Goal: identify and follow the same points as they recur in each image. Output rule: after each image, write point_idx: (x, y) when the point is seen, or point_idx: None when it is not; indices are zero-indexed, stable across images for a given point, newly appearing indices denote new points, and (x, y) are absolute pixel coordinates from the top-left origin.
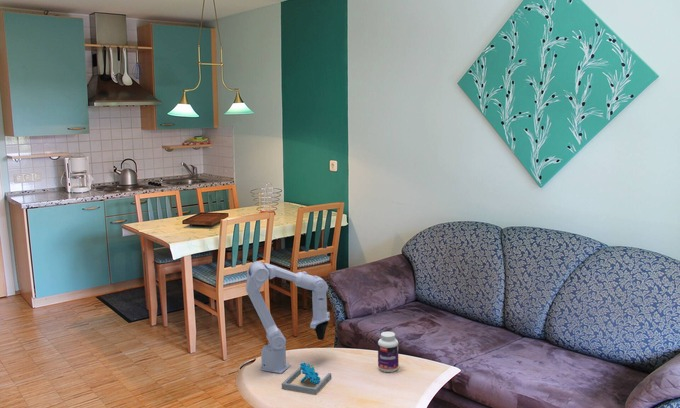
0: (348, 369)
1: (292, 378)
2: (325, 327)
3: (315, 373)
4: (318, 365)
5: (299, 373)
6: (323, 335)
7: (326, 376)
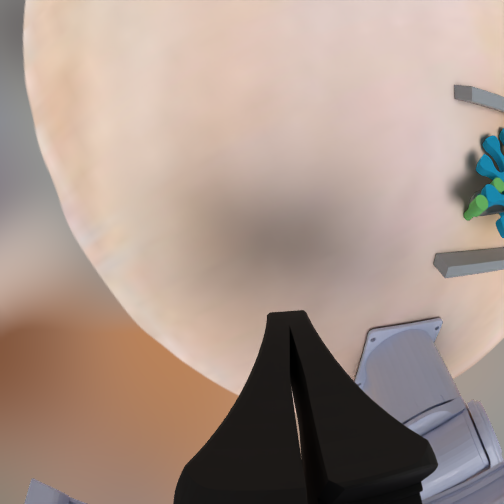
0: (322, 16)
1: (499, 254)
2: (294, 430)
3: (495, 171)
4: (336, 215)
5: (451, 255)
6: (309, 341)
7: (501, 105)
